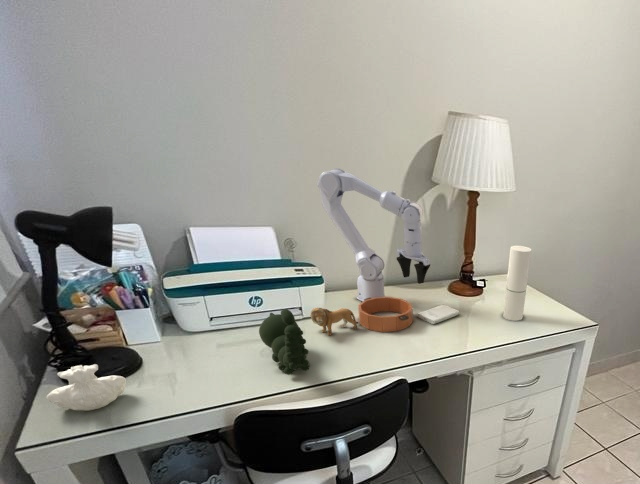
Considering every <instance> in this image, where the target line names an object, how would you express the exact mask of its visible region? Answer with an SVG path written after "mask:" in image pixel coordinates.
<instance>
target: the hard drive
mask: <svg viewBox="0 0 640 484" xmlns="http://www.w3.org/2000/svg"><path fill="white" fill-rule="evenodd" d="M459 315H460V311H459V310H458V309H455V308H453V307H451V306H448V305H446V304H441V305H437V306H434V307H433V308H429V309H427V310H426V309H425V310H423V311H421V312H418V313H417V314H416V317H417V318H419V319H420V320H422V321H424V322H427V323H429V324H431V325H435V324H438V323H441V322H443V321H446V320H449V319H451V318H454V317H457V316H459Z"/></svg>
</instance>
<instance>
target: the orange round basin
mask: <svg viewBox="0 0 640 484" xmlns="http://www.w3.org/2000/svg"><path fill="white" fill-rule="evenodd" d="M357 307H358V319H359V324H360V326H362V327H363V328H365V329H367V330H369V331H374V332H381V333H388V332H399V331H401V330H404V329H408V328H409V327H410V325H411V324H412V323H413V321H414V315H413V312H414V311H413V306H412V304H411V302H409V301H407V300H405V299H403V298H399V297H393V296H385V297H376V298H366V299H364V301H363V302H362V301H361V302H360V303H359V304H358V305H357ZM379 312H380V313H381V312H392V313H393V312H394V313H399V314H397V315H396V314H395V315H387V316H386V315H385V316H382V315H381V316H380V315H376V314H374V313H379Z"/></svg>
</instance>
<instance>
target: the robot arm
mask: <svg viewBox="0 0 640 484" xmlns="http://www.w3.org/2000/svg"><path fill="white" fill-rule="evenodd" d="M316 186H317V187H318V189H319V196H320V201H321V205H322V208H323V209H324V211H325V212H326V213H327V215H328V217H329V219H330V220H331V221H332V222H333V224H334V225H335V227H336V228H337V230H338V232H339V233H340V234H341V236H342V238H343V239H344V241H345V242H346V244H347V245H348V246H349V248H350V249H351V252H352V253H353V254H354V257H355V263H356V265H357V266H358V269H359V274H360V275H359V276H358V277H357V280H356V286H357V296H356V298H355V299H357V300H358V301H361V303H362V302H363V301H364V299H366V298H376V297H386V296H385V279H384V274H383V272H382V271H384V268H385V261H384V259H383V258H382V257H381V256H380V255H378V254H377V253H376V251H375V250H373V249H372V248H371V247H369V245H368V243H367V242H366V241H365V239H364V238H363V235H362V234H361V232H360V231H359V230H358V228H357V226H356V225H355V223H354V222H353V220H352V218H351V217H350V215H349V214H348V213H347V211H346V210H345V208H344V207H343V205H342V200H343V196H344V193H345V192H352V191H353V192H356V193H359V194H361V195H363V196H365V197H367V198H370V199H372V200H374V201H376V202H378V203H379V206H380V207H381V208H382V209H383V210H385V211H388V212H389V213H392V214H393V215H396V216H398V217H400V218H402V220H403V240H404V241H403V243H404V248H397V249H396V250H397V257H396V261H397V263H398V265H399V267H400V269H401V271H402V272H401V273H402V276H403V278H409V277H410V275H411V264H412V260H413V261H414V262H417V263H414V264H413V266H414V269H415V273H416V280H417V284H419V285H421V284H423V283H424V282H425V280H426V279H425V278H426V275H427V273H428V270H429V269H430V267H431V263H430V262H431V259H430V258H428V257H427V256H425V254H424V252H423V251H422V250H423V248H422V247H423V245H422V244H423V243H422V242H423V241H422V239H423V238H422V237H423V234H422V229H423V228H422V217H423V213H424V211H423V208H422V206H421V205H420V204H419V203H418V202H417V201H411V199H409V198H407V199H406V198H404V197H402V196H400V195H398V194H397V191H395V190H391V191H390V190H386V191H382V190H380V189H378V188H377V187H375V186H373V185H371V184H370V183H368V182H366V181H364V180H362V179H361V178H359V177H358V176H356V175H354V174H352V172H351V173H350V172H348V171H345V170H344V169H341V168H333V169H332V170H327V171H323V172H322V173H321V174H320V175H319V177H318V181H317V184H316Z"/></svg>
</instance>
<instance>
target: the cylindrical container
mask: <svg viewBox="0 0 640 484" xmlns="http://www.w3.org/2000/svg"><path fill="white" fill-rule="evenodd" d="M531 257H532V248H531V247H528V246H525V245H511V246H510V248H509V256H508V266H507V267H508V268H507V275H506V276H507V277H506V285H505V296H504V304H503V314H502V315H503V316H502V317H503V318H504V319H505V320H508V321H513V322H514V321H515V322H516V321H517V322H518V321H521V320H522V319H523V318H524V310H525V309H524V308H525V302H526V294H527V286H528V279H529V273H530V266H531V265H530V263H531Z"/></svg>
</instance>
